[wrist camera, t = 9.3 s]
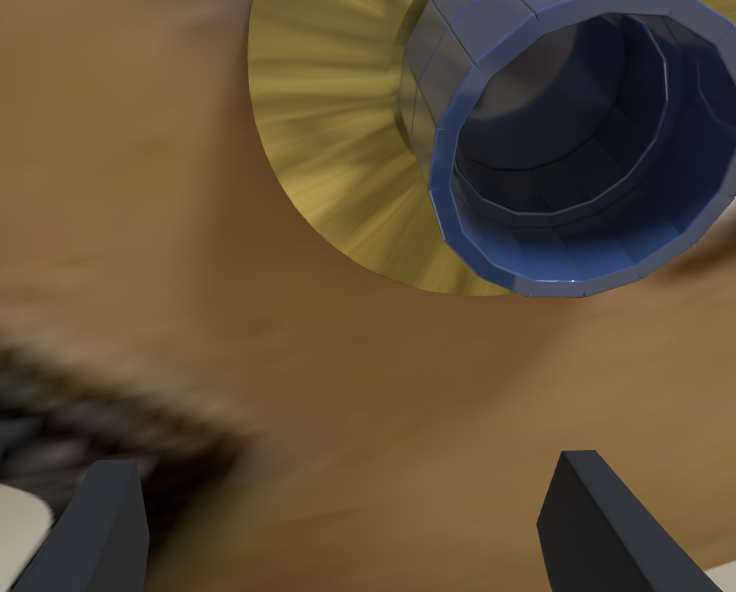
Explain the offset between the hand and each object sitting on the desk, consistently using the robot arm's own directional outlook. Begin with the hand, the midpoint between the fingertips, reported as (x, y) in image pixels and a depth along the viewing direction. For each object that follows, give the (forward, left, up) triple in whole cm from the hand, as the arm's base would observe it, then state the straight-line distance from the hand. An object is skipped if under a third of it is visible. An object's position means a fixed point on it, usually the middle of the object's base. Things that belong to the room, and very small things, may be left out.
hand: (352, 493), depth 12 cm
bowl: (+4, +5, -7) cm, 10 cm away
